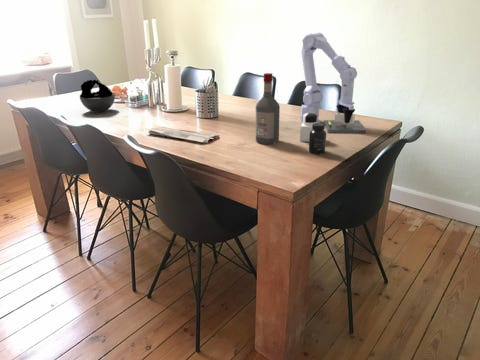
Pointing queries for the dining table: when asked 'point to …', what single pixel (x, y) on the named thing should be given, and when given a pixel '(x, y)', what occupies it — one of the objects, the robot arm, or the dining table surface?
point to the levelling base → (344, 127)
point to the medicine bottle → (307, 126)
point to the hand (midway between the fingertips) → (344, 121)
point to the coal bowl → (96, 96)
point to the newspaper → (182, 134)
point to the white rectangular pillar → (340, 118)
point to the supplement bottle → (317, 139)
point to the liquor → (267, 115)
